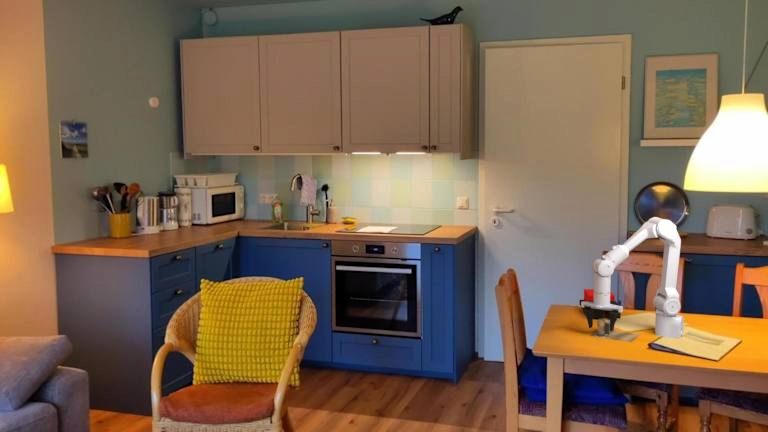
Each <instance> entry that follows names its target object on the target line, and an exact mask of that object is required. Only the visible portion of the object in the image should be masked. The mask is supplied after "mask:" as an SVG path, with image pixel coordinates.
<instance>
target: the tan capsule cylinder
mask: <svg viewBox="0 0 768 432" xmlns="http://www.w3.org/2000/svg"><path fill="white" fill-rule="evenodd" d="M596 322H597V326H596V328H597V329H596V331H597V336H599V337H598V338H600V337H604V336H605V318H597V321H596Z"/></svg>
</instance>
